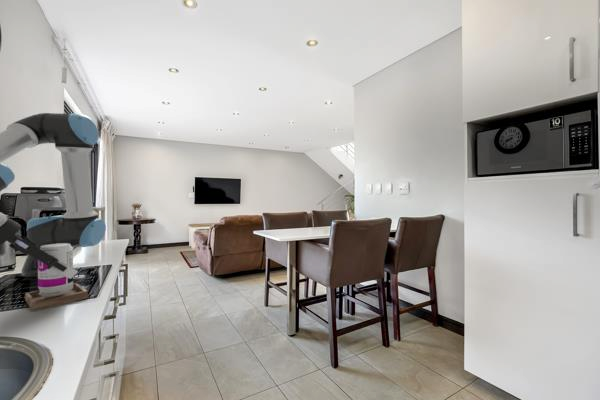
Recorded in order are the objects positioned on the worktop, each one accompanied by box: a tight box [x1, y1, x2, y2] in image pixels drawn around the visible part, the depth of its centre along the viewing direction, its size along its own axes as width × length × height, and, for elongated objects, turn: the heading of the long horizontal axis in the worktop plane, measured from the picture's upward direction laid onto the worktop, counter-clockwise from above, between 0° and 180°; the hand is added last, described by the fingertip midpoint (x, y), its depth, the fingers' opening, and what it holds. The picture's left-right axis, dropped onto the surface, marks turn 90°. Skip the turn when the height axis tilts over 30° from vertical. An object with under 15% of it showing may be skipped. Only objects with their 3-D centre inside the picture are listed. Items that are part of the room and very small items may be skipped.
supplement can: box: [37, 243, 74, 297], centre depth 85 cm, size 8×8×15 cm
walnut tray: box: [24, 282, 89, 312], centre depth 85 cm, size 13×13×2 cm
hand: (70, 272), depth 88 cm, fingers closed on supplement can, 8 cm apart
